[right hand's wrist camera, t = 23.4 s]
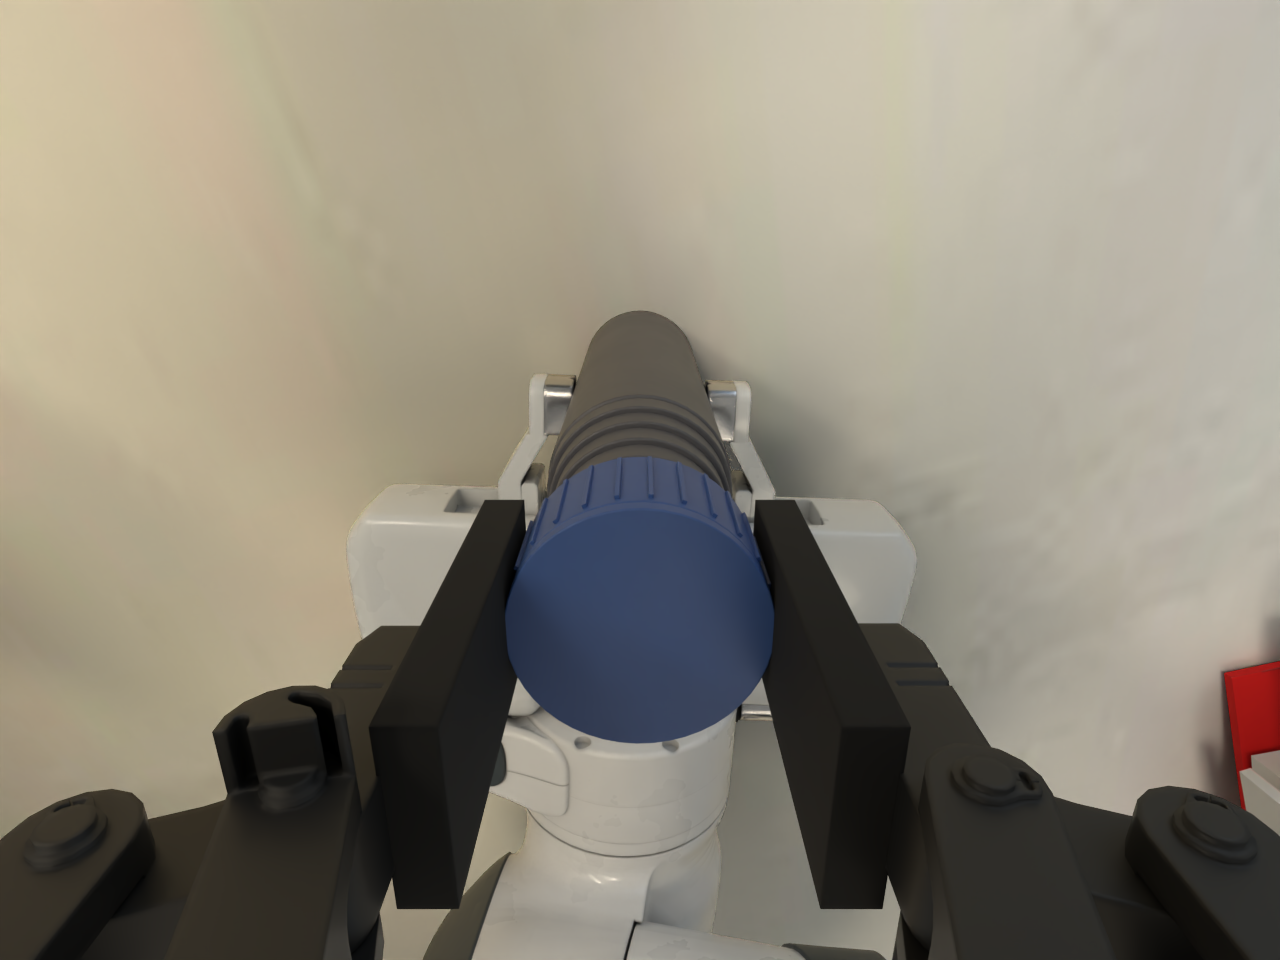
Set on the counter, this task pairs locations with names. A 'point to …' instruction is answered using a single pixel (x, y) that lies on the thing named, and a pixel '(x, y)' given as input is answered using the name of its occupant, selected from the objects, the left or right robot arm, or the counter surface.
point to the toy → (1257, 738)
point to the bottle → (639, 403)
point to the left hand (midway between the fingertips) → (639, 380)
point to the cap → (639, 603)
